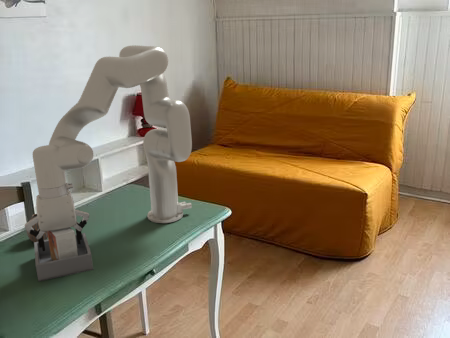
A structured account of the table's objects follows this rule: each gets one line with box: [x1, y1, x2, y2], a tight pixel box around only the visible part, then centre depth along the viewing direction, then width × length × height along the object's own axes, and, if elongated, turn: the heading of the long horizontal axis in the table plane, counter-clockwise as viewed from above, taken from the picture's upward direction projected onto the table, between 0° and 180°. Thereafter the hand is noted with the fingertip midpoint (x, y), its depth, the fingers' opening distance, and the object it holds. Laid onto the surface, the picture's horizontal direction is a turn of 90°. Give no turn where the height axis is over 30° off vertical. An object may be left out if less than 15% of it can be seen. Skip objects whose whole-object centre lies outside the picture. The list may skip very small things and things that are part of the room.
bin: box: [33, 232, 94, 283], centre depth 134 cm, size 15×15×5 cm
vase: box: [25, 213, 48, 243], centre depth 147 cm, size 7×7×9 cm
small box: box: [47, 227, 78, 261], centre depth 133 cm, size 8×6×10 cm
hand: (61, 245), depth 132 cm, fingers open, 9 cm apart
